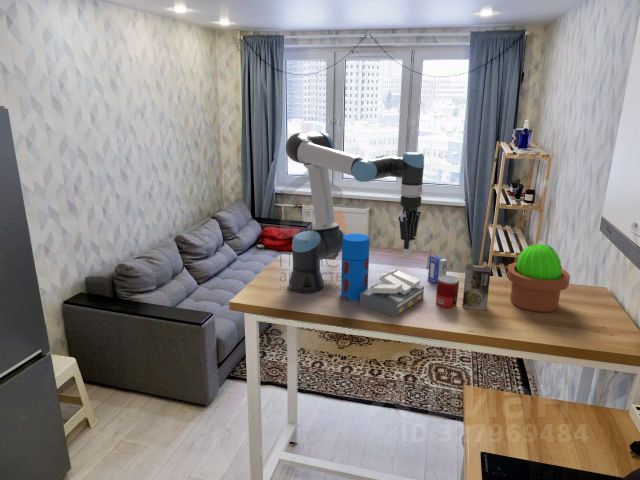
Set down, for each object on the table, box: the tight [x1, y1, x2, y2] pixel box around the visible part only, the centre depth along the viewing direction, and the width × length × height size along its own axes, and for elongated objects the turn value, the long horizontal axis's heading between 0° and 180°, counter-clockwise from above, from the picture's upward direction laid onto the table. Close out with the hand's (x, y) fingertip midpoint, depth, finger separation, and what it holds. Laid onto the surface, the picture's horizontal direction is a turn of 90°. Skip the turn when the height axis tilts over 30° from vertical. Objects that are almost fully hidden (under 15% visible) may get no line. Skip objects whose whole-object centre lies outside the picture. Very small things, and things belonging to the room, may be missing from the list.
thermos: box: [340, 233, 371, 302], centre depth 188 cm, size 11×11×25 cm
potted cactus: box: [506, 243, 571, 313], centre depth 181 cm, size 22×22×25 cm
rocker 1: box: [368, 283, 403, 293], centre depth 178 cm, size 12×4×2 cm, turn 50°
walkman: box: [427, 254, 448, 285], centre depth 202 cm, size 8×3×12 cm, turn 32°
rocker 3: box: [388, 268, 421, 288], centre depth 188 cm, size 12×4×2 cm, turn 51°
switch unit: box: [359, 281, 425, 318], centre depth 185 cm, size 16×22×7 cm
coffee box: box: [461, 263, 492, 311], centre depth 180 cm, size 9×6×16 cm
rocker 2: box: [379, 272, 411, 295], centre depth 183 cm, size 12×4×2 cm, turn 51°
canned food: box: [435, 274, 460, 309], centre depth 181 cm, size 8×8×11 cm
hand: (407, 256), depth 177 cm, fingers closed
